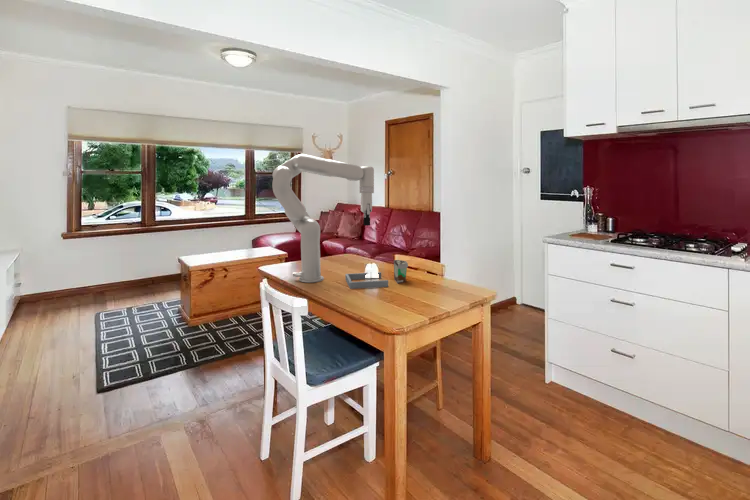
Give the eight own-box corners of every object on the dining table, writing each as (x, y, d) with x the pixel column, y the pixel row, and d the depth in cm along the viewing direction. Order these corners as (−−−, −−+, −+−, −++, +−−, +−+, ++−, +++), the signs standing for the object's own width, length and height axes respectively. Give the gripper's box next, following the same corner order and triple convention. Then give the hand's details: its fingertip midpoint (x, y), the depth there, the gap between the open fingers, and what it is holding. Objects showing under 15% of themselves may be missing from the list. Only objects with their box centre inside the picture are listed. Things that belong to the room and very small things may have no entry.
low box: (349, 288, 199) (349, 282, 198) (345, 279, 217) (345, 273, 216) (388, 286, 202) (388, 280, 202) (380, 277, 220) (380, 272, 219)
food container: (410, 284, 207) (410, 264, 205) (398, 284, 206) (398, 264, 204) (405, 278, 219) (405, 259, 217) (393, 278, 218) (393, 259, 216)
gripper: (357, 189, 226) (358, 223, 229) (361, 190, 211) (361, 227, 214) (371, 189, 227) (371, 223, 230) (376, 190, 212) (376, 226, 215)
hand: (366, 225), depth 222 cm, fingers closed
